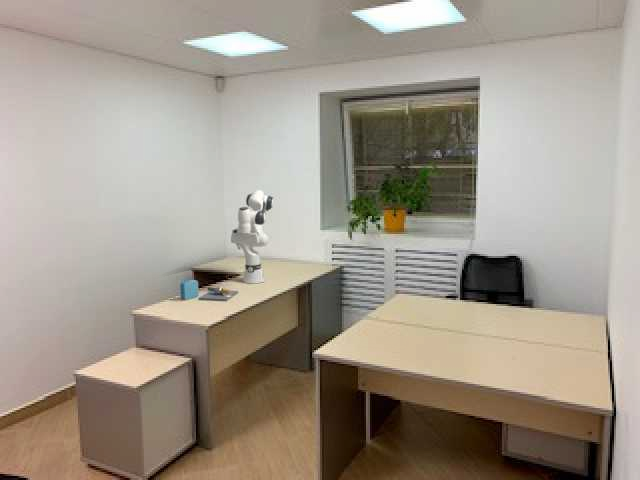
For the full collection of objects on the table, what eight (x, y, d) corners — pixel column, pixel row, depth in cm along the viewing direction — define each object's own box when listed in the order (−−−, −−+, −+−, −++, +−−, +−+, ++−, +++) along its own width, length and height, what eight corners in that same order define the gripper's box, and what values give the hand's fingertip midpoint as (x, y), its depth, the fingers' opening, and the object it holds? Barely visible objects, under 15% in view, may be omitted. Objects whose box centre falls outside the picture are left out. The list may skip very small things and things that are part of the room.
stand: (212, 291, 353) (212, 288, 352) (239, 293, 348) (239, 290, 348) (198, 299, 331) (198, 296, 331) (227, 301, 327) (227, 298, 327)
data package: (194, 296, 342) (193, 279, 340) (198, 296, 339) (198, 280, 338) (180, 299, 332) (179, 282, 330) (185, 300, 330) (184, 283, 328)
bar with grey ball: (205, 293, 342) (205, 286, 342) (211, 291, 347) (211, 284, 347) (226, 296, 332) (226, 289, 331) (232, 294, 337) (232, 287, 336)
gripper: (260, 230, 346) (260, 249, 348) (233, 229, 350) (233, 248, 352) (257, 231, 339) (257, 250, 341) (229, 230, 344) (230, 249, 346)
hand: (245, 249), depth 347 cm, fingers open, 8 cm apart
